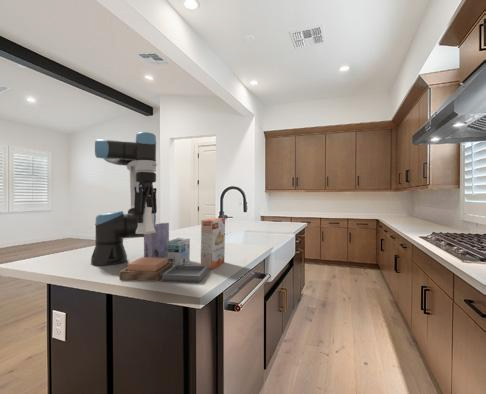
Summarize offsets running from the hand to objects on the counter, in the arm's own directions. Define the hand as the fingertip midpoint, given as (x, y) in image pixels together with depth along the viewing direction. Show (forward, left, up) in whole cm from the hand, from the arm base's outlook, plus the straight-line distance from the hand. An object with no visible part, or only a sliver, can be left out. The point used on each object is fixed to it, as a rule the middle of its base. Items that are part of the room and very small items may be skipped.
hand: (146, 230), depth 106 cm
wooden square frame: (+1, +1, -17) cm, 17 cm away
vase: (0, 0, -1) cm, 1 cm away
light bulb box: (+7, +20, -18) cm, 27 cm away
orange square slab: (+1, +1, -15) cm, 15 cm away
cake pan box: (-5, +21, -18) cm, 28 cm away
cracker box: (+24, +17, -18) cm, 34 cm away
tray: (+17, 0, -17) cm, 24 cm away
